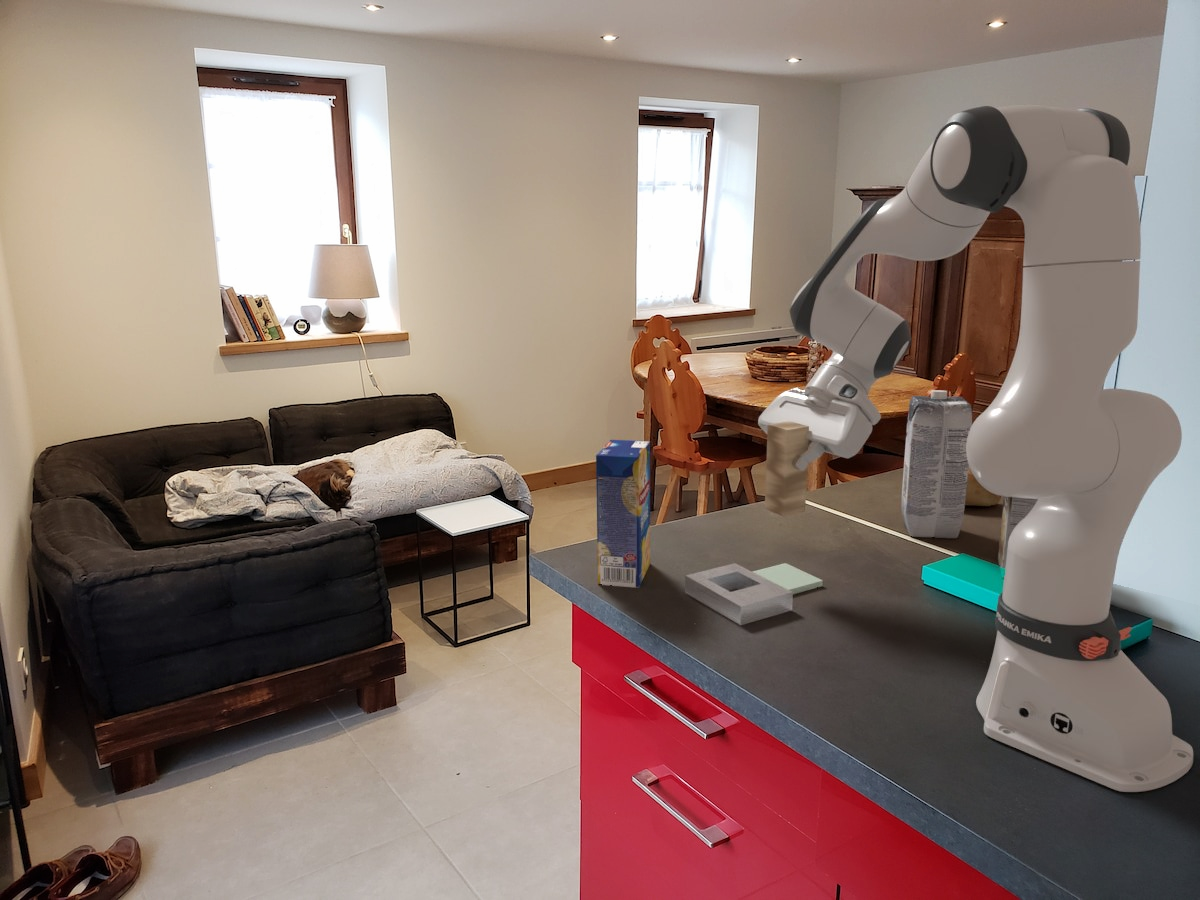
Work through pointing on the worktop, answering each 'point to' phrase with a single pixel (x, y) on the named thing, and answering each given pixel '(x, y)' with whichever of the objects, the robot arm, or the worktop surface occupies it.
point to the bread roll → (978, 493)
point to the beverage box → (623, 512)
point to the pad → (790, 578)
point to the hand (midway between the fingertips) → (783, 463)
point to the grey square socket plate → (738, 593)
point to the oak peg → (785, 468)
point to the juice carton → (935, 465)
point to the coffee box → (1012, 521)
